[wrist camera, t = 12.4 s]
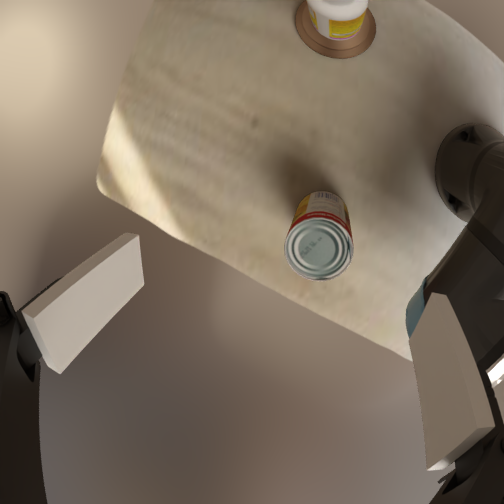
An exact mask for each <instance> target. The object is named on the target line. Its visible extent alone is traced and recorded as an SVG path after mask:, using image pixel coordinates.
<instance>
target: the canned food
mask: <svg viewBox="0 0 504 504" xmlns="http://www.w3.org/2000/svg"><path fill="white" fill-rule="evenodd" d="M353 248H354V247H353V240H352V233H351V226H350V220H349V214H348V210H347V207H346V205H345V203H344V202H343V201H342V200H341V199H340V198H339V197H338V196H337V195H335V194H333V193H331V192H327V191H317V192H313V193H311V194H309V195H307V196H306V197H305V198H304V199H303V200H302V201H301V202H300V204H299V206H298V208H297V210H296V213H295V216H294V218H293V221H292V224H291V226H290V229H289V232H288V234H287V237H286V241H285V245H284V251H285V257H286V260H287V262H288V264H289V265H290V267H291V268H292V270H294V271H295V272H296V273H297V274H298V275H300V276H302V277H304V278H305V279H309V280H312V281H327V280H332V279H334V278H336V277H338V276H340V275H341V274H342V273H343V272H344V271H346V269H347V268H348V266H349V265H350V263H351V261H352V258H353Z"/></svg>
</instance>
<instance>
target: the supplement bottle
mask: <svg viewBox="0 0 504 504" xmlns="http://www.w3.org/2000/svg"><path fill="white" fill-rule="evenodd" d="M306 1H307V4H308V8H309V12H310V17H311V21H312V23H313V26H314V27H315V29H316V30H317V31H318V32H319V33H320V34H321V35H323V36H325V37H327V38H329V39H332V40H347V39H350V38H352V37H354V36H355V35H356V34H357V33H358V32H359V31H360V29H361V26H362V23H363V19H364V16H365V12H366V9H367V5H368V0H306Z"/></svg>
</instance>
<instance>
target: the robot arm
mask: <svg viewBox="0 0 504 504" xmlns="http://www.w3.org/2000/svg"><path fill="white" fill-rule="evenodd" d="M435 177H436V184H437V188H438V191H439V194H440V196H441V198H442V200H443V202H444V203H445V205H446V206H447V207H448V208H449V209H450V210H451V211H452V212H453V213H454V214H455V215H456V216H457V217H458V218H460V219H461V220H463V221H465V222H467V223H468V224H467V225H466V226H465V228H464V229H463V231H462V232H461V233H460V235H459V236H458V238H457V239H456V241H455V242H454V243H453V245H452V246H451V248H450V249H449V250H448V252H447V253H446V254H445V256H444V257H443V258H442V260H441V261H440V262H439V263H438V265H437V266H436V267H435V268H434V270H433V271H432V272H431V273H430V275H428V276H427V277H425V279H424V280H423V282H422V285H421V286H420V288H419V289H418V291H417V292H416V293H415V294H414V296H413V297H412V298H411V300H410V301H409V303H408V305H407V309H406V328H407V333H408V336H409V345H410V349H411V354H412V359H413V364H414V369H415V375H416V380H417V386H418V392H419V398H420V405H421V413H422V421H423V430H424V440H425V452H426V467H427V470H439V469H445V468H446V467H448V466H449V465H450V464H452V463H453V462H454V461H455V467H456V468H455V469H454V470H453V471H451V472H450V473H448V474H447V475H445V476H444V477H443V478H441V479H440V480H439V481H438V483H441V482H442V481H444V480H446V481H445V482H444V484H443V485H442V486H441V488H440V489H439V491H438V492H437V494H436V495H435V496H434V498H433V499H432V500H431V502H430V503H429V504H504V136H503V135H502V134H501V133H499V132H498V131H497V130H495V129H493V128H491V127H489V126H487V125H482V124H475V123H469V124H464V125H461V126H459V127H457V128H455V129H454V130H452V131H451V132H450V133H449V134H448V135H447V136H446V138H445V139H444V141H443V142H442V144H441V146H440V149H439V151H438V154H437V159H436V165H435ZM143 285H144V279H143V272H142V262H141V254H140V243H139V235H136V234H132V233H124V234H123V235H121V236H120V237H118V238H117V239H116V240H114V241H113V242H111V243H110V244H108V245H107V246H105V247H104V248H103V249H101V250H100V251H98V252H97V253H96V254H94V255H93V256H91V257H90V258H89V259H87V260H86V261H84V262H83V263H82V264H80V265H79V266H78V267H76V268H75V269H74V270H72V271H71V272H70V273H68V274H67V275H66V276H64V277H62V278H59V279H57V280H55V281H54V282H53V283H51V284H50V285H49V286H47V288H45V289H44V290H42V291H41V293H40V294H37V295H36V296H35V297H34V298H32V299H31V300H30V301H29V302H28V303H26V304H25V305H24V306H23V307H22V308H20V309H19V310H18V311H17V312H15V310H14V308H13V305H12V303H11V300H10V298H9V295H8V294H7V293H6V292H4V291H0V504H47V499H46V493H45V487H44V480H43V472H42V463H41V452H40V436H39V386H40V369H41V366H40V362H39V359H40V358H41V357H42V356H43V358H44V360H45V362H46V364H47V366H49V367H50V368H51V369H53V370H54V371H56V372H58V373H59V374H61V373H62V372H63V371H64V369H65V368H66V367H67V366H68V365H69V363H71V361H72V360H73V359H74V358H75V357H76V356H77V355H78V354H79V353H80V352H81V350H82V349H83V348H84V347H85V346H86V345H87V344H88V343H89V342H90V341H91V339H93V337H94V336H95V335H96V334H97V333H98V332H99V331H100V330H101V329H102V328H103V327H104V326H105V325H106V324H107V322H108V321H109V320H110V319H111V318H112V317H113V316H114V315H115V314H116V313H117V312H118V311H119V310H120V309H121V308H122V307H123V306H124V305H125V304H126V303H127V302H128V301H129V300H130V299H131V297H133V296H134V295H135V294H136V293H137V291H138V290H140V288H141V287H142V286H143Z"/></svg>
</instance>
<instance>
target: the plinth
mask: <svg viewBox="0 0 504 504" xmlns="http://www.w3.org/2000/svg"><path fill="white" fill-rule="evenodd" d="M296 27H297V30H298V33H299V35H300V37H301V38H302V40H303V41H304V42H305V44H306V45H307V46H309V47H310V48H311V49H312V50H314V51H315V52H317V53H319V54H321V55H324V56H327V57H331V58H339V59H343V58H351V57H354V56H357V55H359V54H361V53H363V52H364V51H365V50H367V48H368V47H369V46H370V45H371V43H372V42H373V39H374V37H375V33H376V24H375V20H374V17H373V15H372V13H371V12H370V10H369V9H368V8H367V9H366V12H365V16H364V19H363V23H362V26H361V29H360V31H359V32H358V33H357V34H356V35H355V36H354V37H352V38H350V39H347V40H332V39H329V38H327V37H325V36H323V35H321V34H320V33H319V32H318V31H317V30H316V29H315V27H314V26H313V23H312V21H311V17H310V12H309V8H308V4H307V1H306V0H305V1H304V2H303V3H302V4H301V5H300V6H299V8H298V10H297V13H296Z"/></svg>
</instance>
